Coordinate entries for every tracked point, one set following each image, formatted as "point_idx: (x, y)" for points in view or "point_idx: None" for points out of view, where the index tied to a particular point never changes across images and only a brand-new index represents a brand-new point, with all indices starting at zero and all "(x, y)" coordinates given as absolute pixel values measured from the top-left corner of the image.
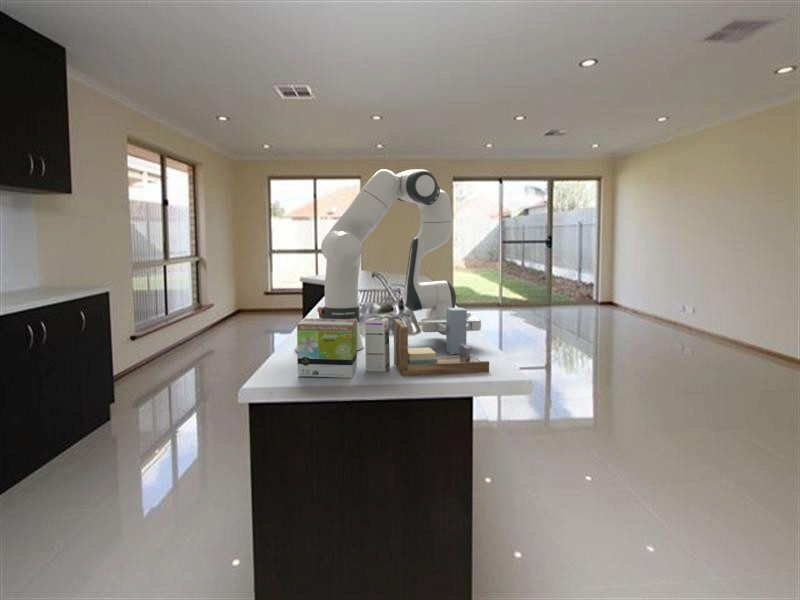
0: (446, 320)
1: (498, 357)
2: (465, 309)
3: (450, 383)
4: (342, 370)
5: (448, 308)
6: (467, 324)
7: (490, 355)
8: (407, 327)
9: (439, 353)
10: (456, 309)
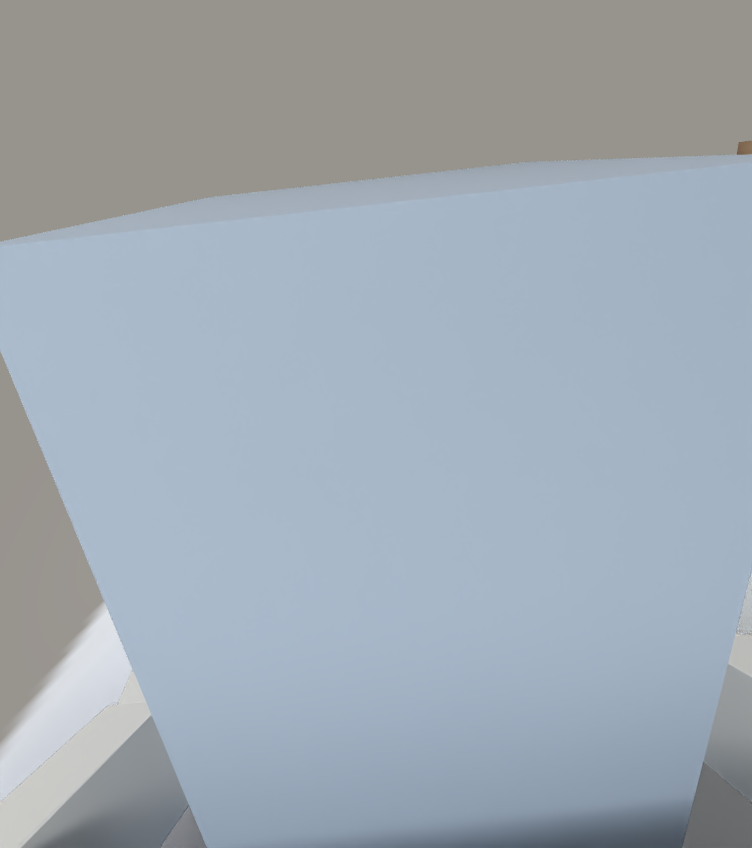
0: (720, 670)
1: (109, 624)
2: (185, 202)
3: None
4: None
5: (669, 158)
6: (62, 747)
7: (119, 691)
8: (740, 144)
9: (685, 835)
10: (401, 179)
